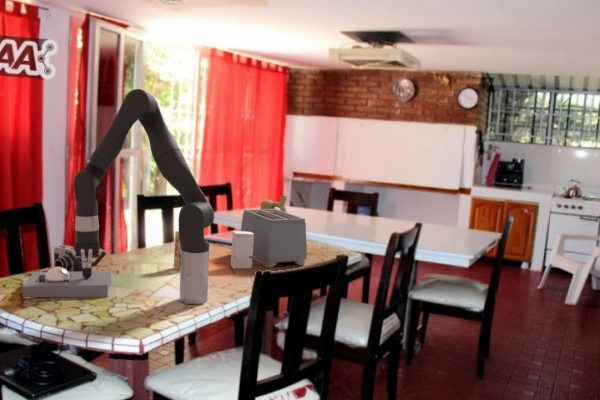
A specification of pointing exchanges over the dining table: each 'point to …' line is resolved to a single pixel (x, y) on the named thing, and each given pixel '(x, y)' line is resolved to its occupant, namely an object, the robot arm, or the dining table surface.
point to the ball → (57, 275)
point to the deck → (68, 285)
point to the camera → (66, 259)
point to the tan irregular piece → (274, 204)
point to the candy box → (177, 252)
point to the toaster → (276, 236)
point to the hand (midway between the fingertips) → (87, 277)
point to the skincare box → (242, 249)
